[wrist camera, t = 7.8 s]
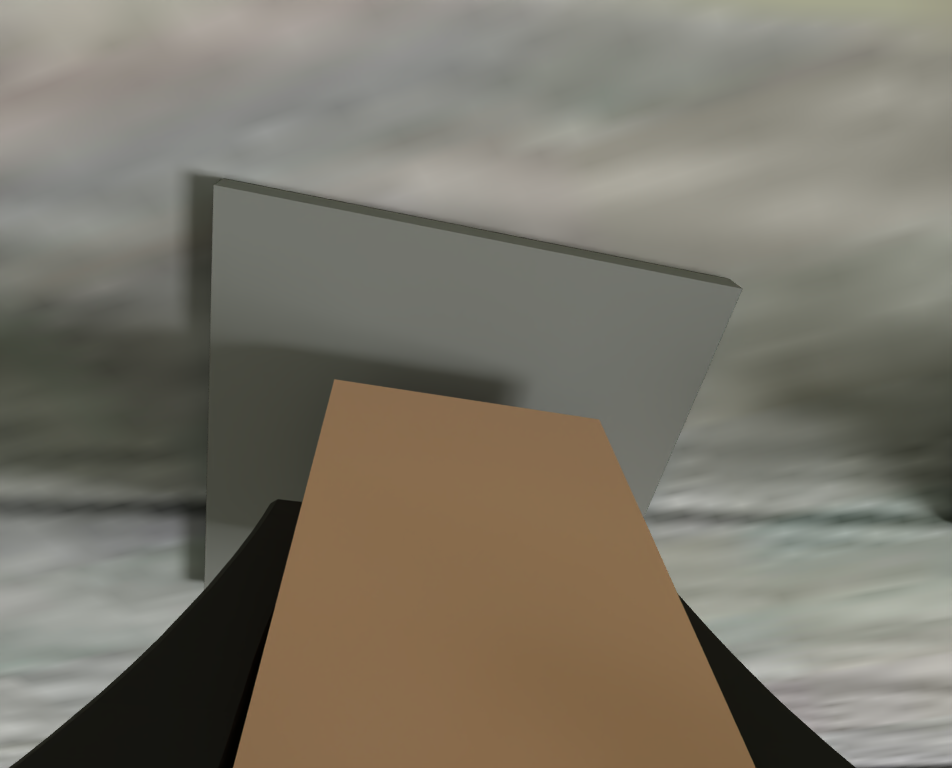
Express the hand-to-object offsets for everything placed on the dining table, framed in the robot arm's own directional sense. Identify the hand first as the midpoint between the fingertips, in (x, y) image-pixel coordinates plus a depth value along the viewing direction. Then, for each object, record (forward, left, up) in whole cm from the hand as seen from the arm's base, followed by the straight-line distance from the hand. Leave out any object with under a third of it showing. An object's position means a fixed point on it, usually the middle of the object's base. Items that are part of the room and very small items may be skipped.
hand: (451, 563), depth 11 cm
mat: (0, 0, -4) cm, 4 cm away
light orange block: (0, 0, -2) cm, 2 cm away
